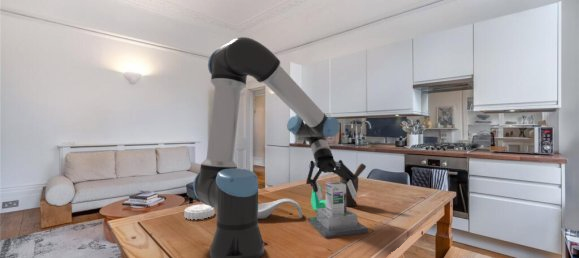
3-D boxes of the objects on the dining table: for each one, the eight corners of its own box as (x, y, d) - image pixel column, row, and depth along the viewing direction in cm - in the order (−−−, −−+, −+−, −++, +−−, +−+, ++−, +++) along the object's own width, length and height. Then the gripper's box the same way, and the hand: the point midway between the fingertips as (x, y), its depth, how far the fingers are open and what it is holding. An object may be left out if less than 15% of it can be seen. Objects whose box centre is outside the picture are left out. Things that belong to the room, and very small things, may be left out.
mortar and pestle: (361, 202, 126) (361, 161, 126) (367, 207, 117) (367, 163, 117) (338, 202, 126) (338, 161, 126) (342, 207, 117) (342, 164, 117)
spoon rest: (242, 222, 99) (242, 203, 99) (247, 212, 111) (247, 196, 111) (303, 221, 100) (303, 203, 100) (301, 212, 111) (301, 195, 111)
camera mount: (333, 213, 110) (333, 189, 110) (316, 213, 109) (316, 189, 109) (326, 205, 122) (326, 183, 122) (311, 205, 121) (310, 184, 121)
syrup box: (332, 226, 90) (332, 184, 90) (325, 220, 95) (325, 181, 96) (346, 224, 91) (346, 183, 92) (339, 219, 97) (339, 180, 97)
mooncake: (180, 215, 107) (180, 206, 107) (207, 209, 115) (207, 201, 115) (190, 222, 98) (190, 213, 98) (219, 216, 106) (219, 207, 106)
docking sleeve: (325, 237, 83) (324, 221, 84) (308, 221, 99) (308, 207, 99) (367, 232, 88) (367, 216, 88) (345, 217, 103) (345, 204, 103)
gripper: (345, 158, 113) (364, 200, 98) (291, 159, 106) (303, 205, 92) (351, 146, 108) (372, 190, 93) (295, 147, 101) (308, 194, 87)
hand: (338, 197), depth 92 cm, fingers open, 13 cm apart
